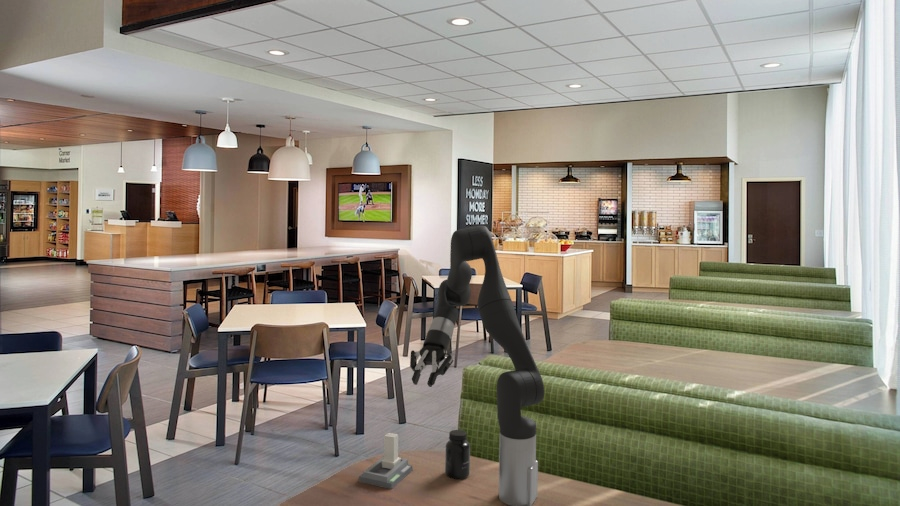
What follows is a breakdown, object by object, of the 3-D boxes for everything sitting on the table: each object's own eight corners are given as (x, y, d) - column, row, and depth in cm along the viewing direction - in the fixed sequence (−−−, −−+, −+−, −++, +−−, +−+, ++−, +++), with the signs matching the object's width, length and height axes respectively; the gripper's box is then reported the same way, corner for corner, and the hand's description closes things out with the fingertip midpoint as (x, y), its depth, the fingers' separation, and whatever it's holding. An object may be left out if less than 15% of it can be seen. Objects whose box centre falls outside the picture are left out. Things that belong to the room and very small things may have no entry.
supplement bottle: (470, 480, 166) (470, 437, 164) (444, 480, 166) (445, 437, 165) (469, 469, 172) (470, 428, 171) (445, 468, 173) (445, 427, 171)
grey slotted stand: (412, 470, 171) (412, 460, 171) (391, 489, 160) (391, 478, 160) (381, 464, 175) (381, 454, 175) (358, 481, 164) (358, 471, 164)
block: (400, 463, 171) (400, 433, 171) (393, 469, 168) (393, 438, 167) (388, 461, 173) (388, 431, 172) (381, 467, 169) (381, 436, 168)
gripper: (414, 326, 188) (396, 375, 178) (457, 330, 183) (440, 381, 173) (422, 339, 194) (404, 387, 184) (463, 344, 188) (447, 394, 178)
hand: (422, 384), depth 178 cm, fingers open, 4 cm apart
